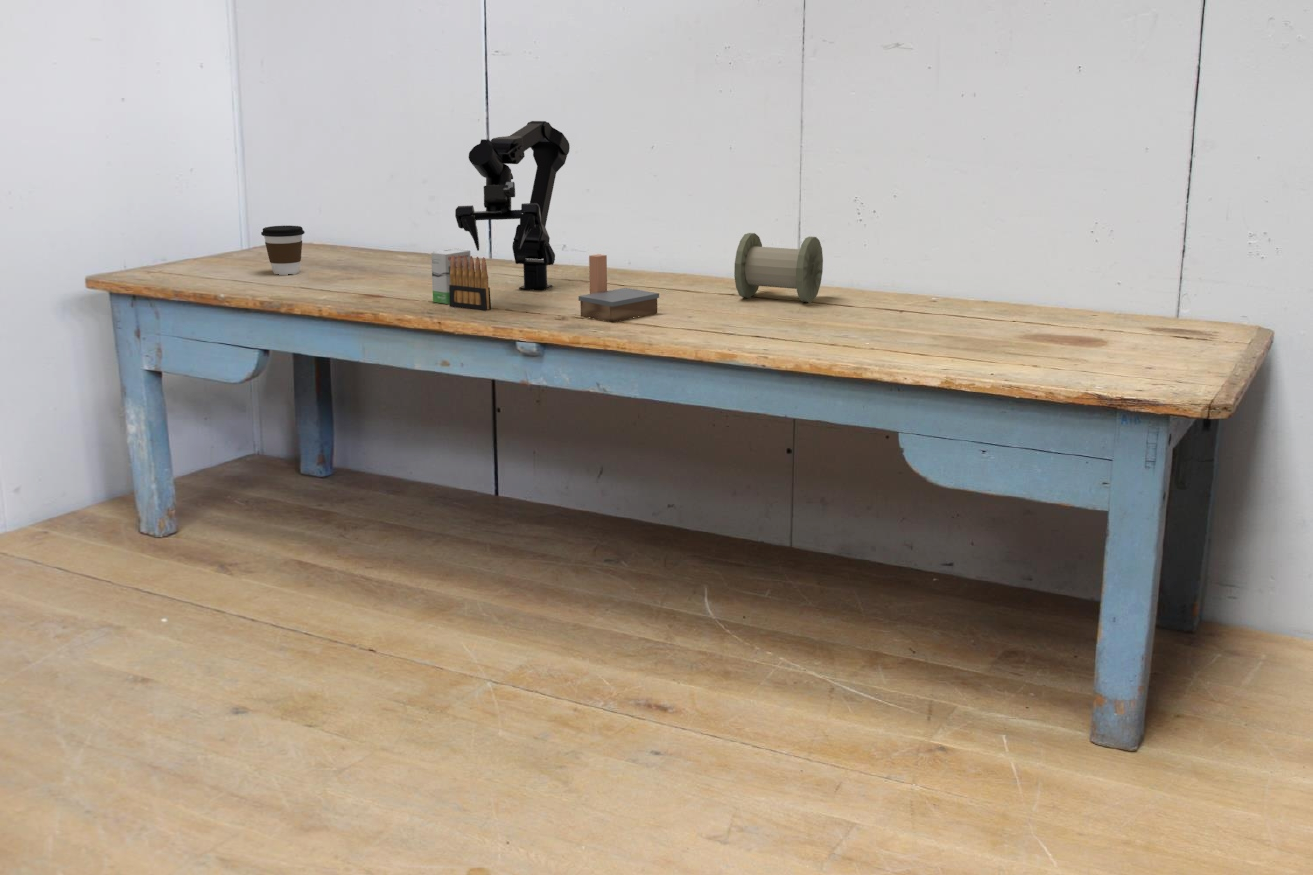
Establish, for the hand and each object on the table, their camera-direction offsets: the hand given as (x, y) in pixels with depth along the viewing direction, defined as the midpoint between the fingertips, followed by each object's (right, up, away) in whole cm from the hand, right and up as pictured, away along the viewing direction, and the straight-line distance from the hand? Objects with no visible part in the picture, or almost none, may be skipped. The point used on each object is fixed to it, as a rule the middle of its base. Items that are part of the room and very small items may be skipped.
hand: (498, 249), depth 288 cm
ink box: (-13, -10, +15) cm, 22 cm away
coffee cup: (-63, +1, +54) cm, 82 cm away
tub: (+27, -15, -1) cm, 31 cm away
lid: (+26, -11, -2) cm, 28 cm away
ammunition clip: (-7, -13, +7) cm, 16 cm away
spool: (+64, -10, +17) cm, 67 cm away
